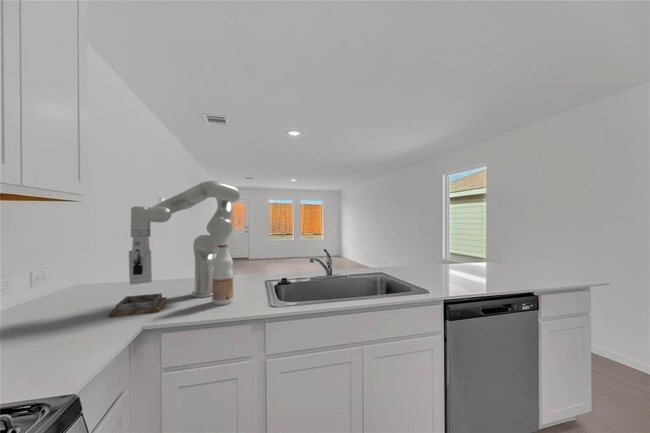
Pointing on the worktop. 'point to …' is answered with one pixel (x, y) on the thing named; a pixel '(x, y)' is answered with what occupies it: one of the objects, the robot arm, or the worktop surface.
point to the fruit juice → (222, 277)
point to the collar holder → (139, 305)
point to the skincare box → (146, 270)
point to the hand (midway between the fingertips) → (140, 272)
